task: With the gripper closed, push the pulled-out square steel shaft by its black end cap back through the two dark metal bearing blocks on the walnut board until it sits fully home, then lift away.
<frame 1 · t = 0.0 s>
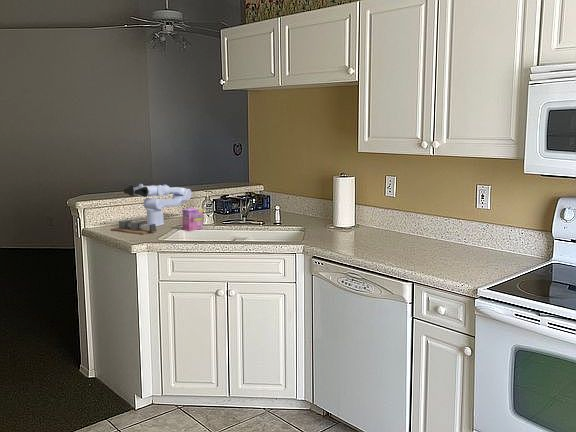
hand: (130, 191, 316), 22 cm above the worktop, tool horizontal, fingers open, 7 cm apart
shaft: (139, 226, 318), point 3 cm above the worktop, slide at 4.0 cm
bearing board: (133, 230, 320), on the worktop
box: (192, 229, 327), on the worktop
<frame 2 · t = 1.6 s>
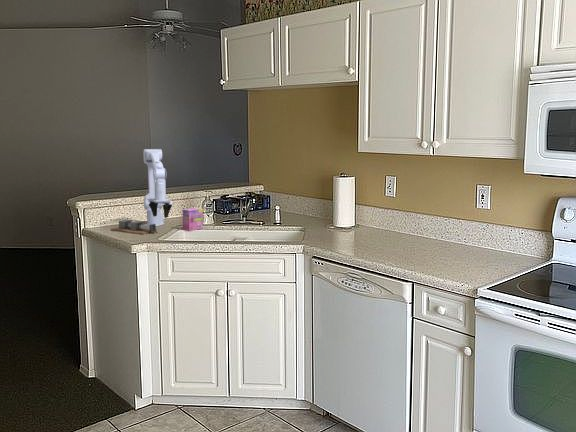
hand: (160, 216, 311), 9 cm above the worktop, tool pointing down, fingers open, 7 cm apart
nothing on the worktop moved.
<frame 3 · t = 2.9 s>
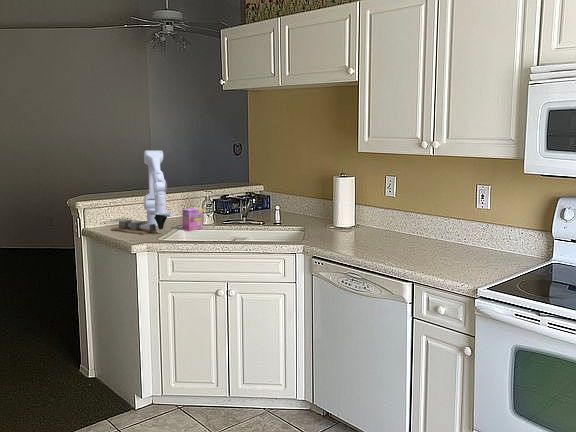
hand: (160, 229, 312), 3 cm above the worktop, tool pointing down, fingers closed
nothing on the worktop moved.
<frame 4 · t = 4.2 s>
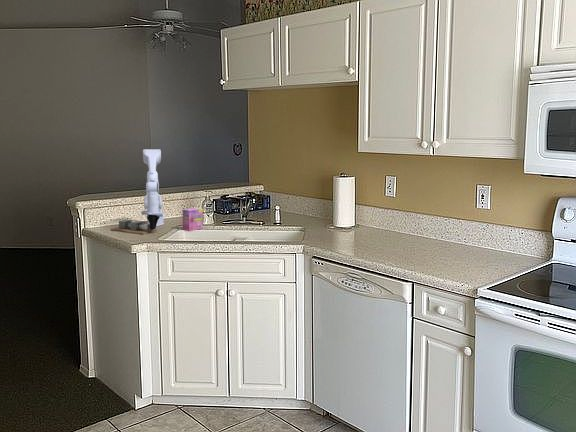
hand: (153, 228, 314), 2 cm above the worktop, tool pointing down, fingers closed
shaft: (137, 225, 319), point 3 cm above the worktop, slide at 2.6 cm, touching gripper
everything else where it was.
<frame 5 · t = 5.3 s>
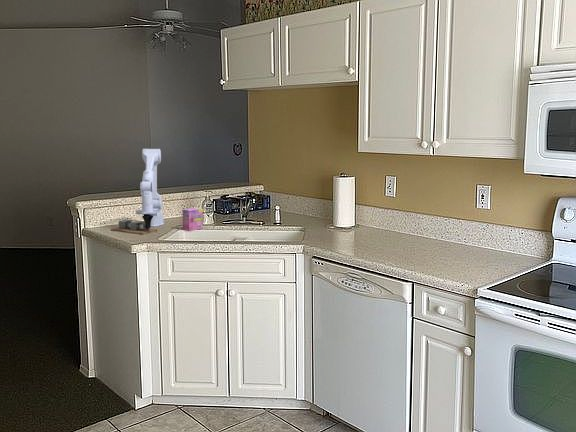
hand: (148, 228, 316), 2 cm above the worktop, tool pointing down, fingers closed, pressing on shaft
shaft: (132, 225, 320), point 3 cm above the worktop, slide at -0.3 cm, touching gripper
everything else where it was.
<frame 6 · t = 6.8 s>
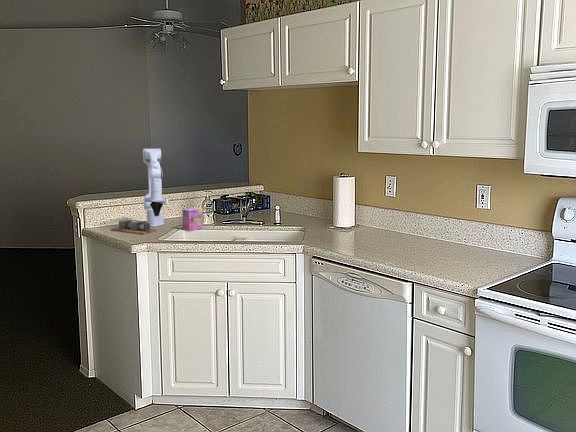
hand: (156, 216, 313), 9 cm above the worktop, tool pointing down, fingers closed
shaft: (133, 225, 320), point 3 cm above the worktop, slide at 0.0 cm
everything else where it was.
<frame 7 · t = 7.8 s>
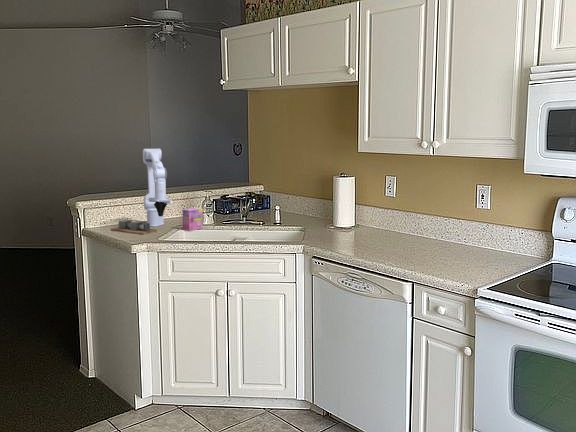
hand: (160, 216, 313), 9 cm above the worktop, tool pointing down, fingers closed
nothing on the worktop moved.
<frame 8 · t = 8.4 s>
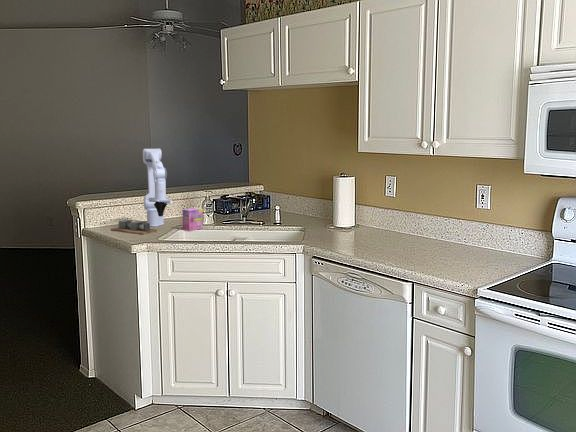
hand: (160, 216, 313), 9 cm above the worktop, tool pointing down, fingers closed
nothing on the worktop moved.
at the end: shaft slide at 0.0 cm; box moved 0.3 cm from its start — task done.
